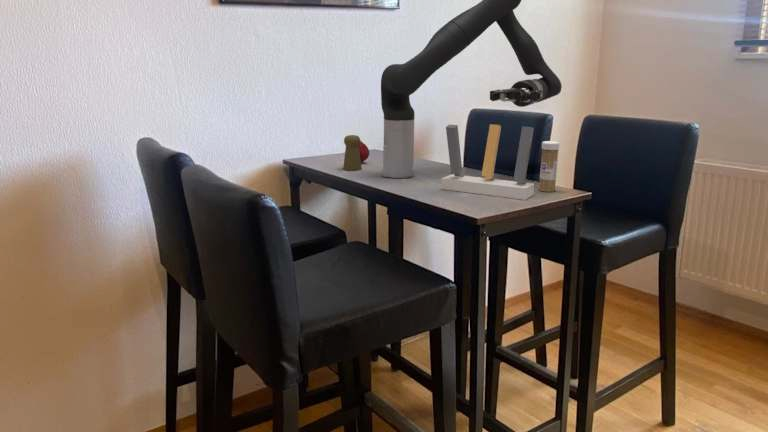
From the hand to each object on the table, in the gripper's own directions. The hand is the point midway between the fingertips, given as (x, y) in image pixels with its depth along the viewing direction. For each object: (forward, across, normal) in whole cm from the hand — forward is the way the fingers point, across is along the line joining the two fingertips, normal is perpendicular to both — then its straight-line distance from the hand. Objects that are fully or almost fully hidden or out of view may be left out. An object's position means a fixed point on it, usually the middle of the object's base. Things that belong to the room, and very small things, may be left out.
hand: (506, 97), depth 166 cm
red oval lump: (-5, -54, +24) cm, 59 cm away
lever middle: (+12, 0, +20) cm, 23 cm away
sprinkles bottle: (+2, +13, +25) cm, 28 cm away
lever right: (+12, +9, +20) cm, 25 cm away
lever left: (+13, -9, +20) cm, 25 cm away
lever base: (+13, 0, +24) cm, 27 cm away
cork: (+6, -50, +24) cm, 56 cm away
